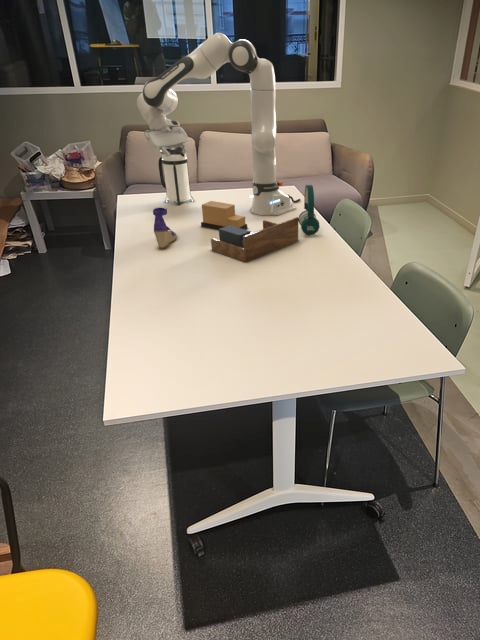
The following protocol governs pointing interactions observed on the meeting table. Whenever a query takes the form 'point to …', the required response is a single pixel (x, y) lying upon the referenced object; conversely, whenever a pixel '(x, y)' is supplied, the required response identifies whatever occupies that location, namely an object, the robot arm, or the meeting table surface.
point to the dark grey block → (233, 235)
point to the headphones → (309, 213)
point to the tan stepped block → (221, 216)
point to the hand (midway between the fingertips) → (177, 154)
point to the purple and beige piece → (162, 229)
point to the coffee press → (175, 175)
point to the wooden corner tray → (260, 241)
